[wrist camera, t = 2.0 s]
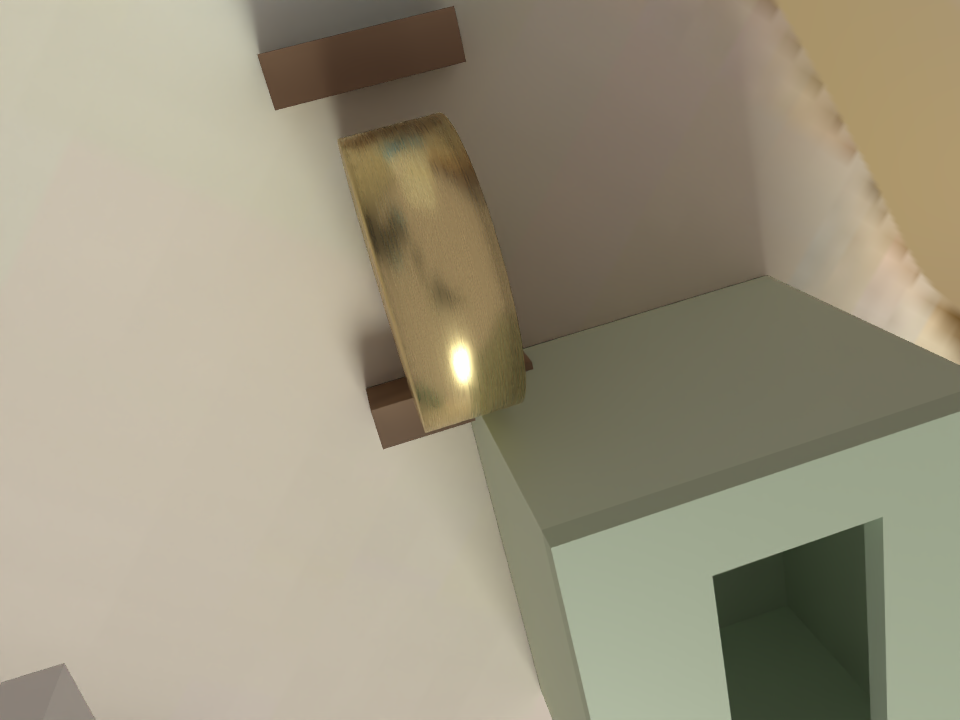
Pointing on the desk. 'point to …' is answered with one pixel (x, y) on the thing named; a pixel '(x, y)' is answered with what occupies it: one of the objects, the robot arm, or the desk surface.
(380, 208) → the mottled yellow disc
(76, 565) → the desk surface
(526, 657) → the desk surface
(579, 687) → the box
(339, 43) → the cradle
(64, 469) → the desk surface
